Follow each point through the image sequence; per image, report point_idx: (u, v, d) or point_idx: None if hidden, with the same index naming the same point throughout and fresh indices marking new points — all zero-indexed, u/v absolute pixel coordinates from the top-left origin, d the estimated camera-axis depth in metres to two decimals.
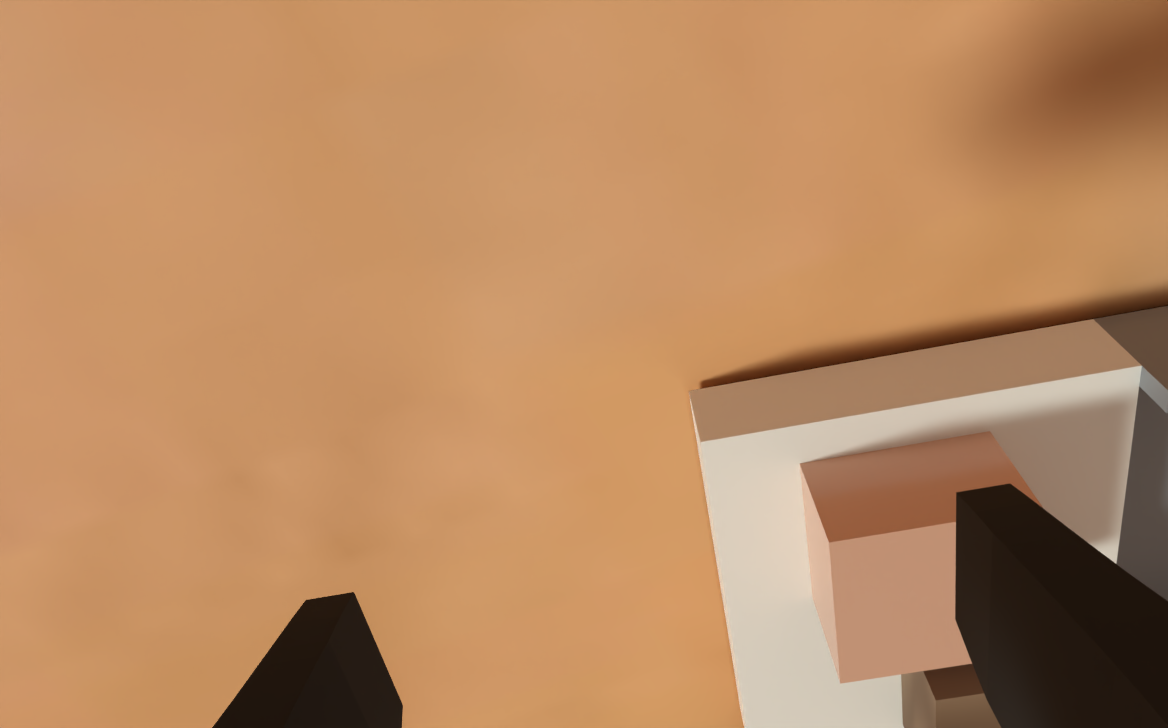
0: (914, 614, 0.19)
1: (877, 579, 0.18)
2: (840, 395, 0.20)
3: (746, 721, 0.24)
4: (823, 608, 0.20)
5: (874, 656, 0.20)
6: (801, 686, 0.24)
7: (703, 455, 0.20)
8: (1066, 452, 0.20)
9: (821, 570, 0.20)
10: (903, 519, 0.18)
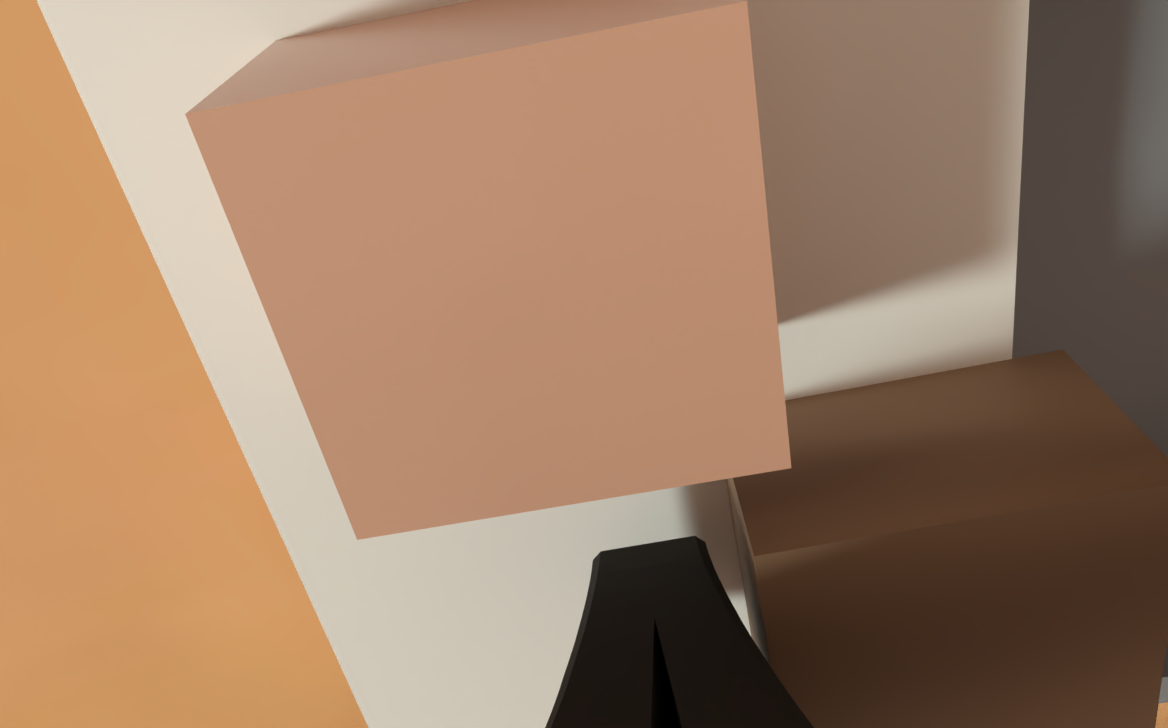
0: (480, 349, 0.08)
1: (356, 242, 0.07)
2: None
3: (340, 660, 0.13)
4: None
5: (415, 468, 0.08)
6: (425, 590, 0.12)
7: (44, 12, 0.09)
8: (883, 20, 0.09)
9: None
10: (395, 62, 0.07)
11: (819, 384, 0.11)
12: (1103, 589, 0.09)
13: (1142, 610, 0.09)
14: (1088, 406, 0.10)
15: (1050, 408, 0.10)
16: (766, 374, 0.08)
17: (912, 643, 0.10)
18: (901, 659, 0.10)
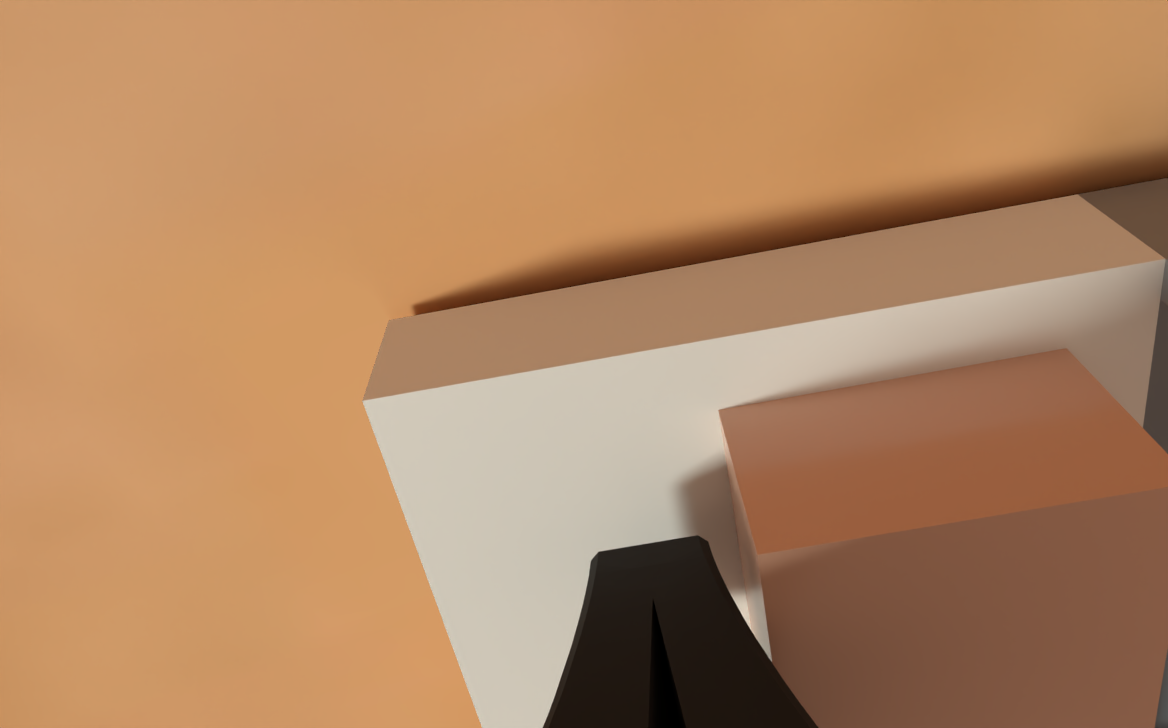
0: (930, 690, 0.10)
1: (857, 627, 0.09)
2: (625, 320, 0.11)
3: None
4: None
5: None
6: None
7: (373, 425, 0.11)
8: None
9: (756, 605, 0.11)
10: (908, 508, 0.09)
11: None
12: None
13: None
14: None
15: None
16: (1145, 703, 0.10)
17: None
18: None
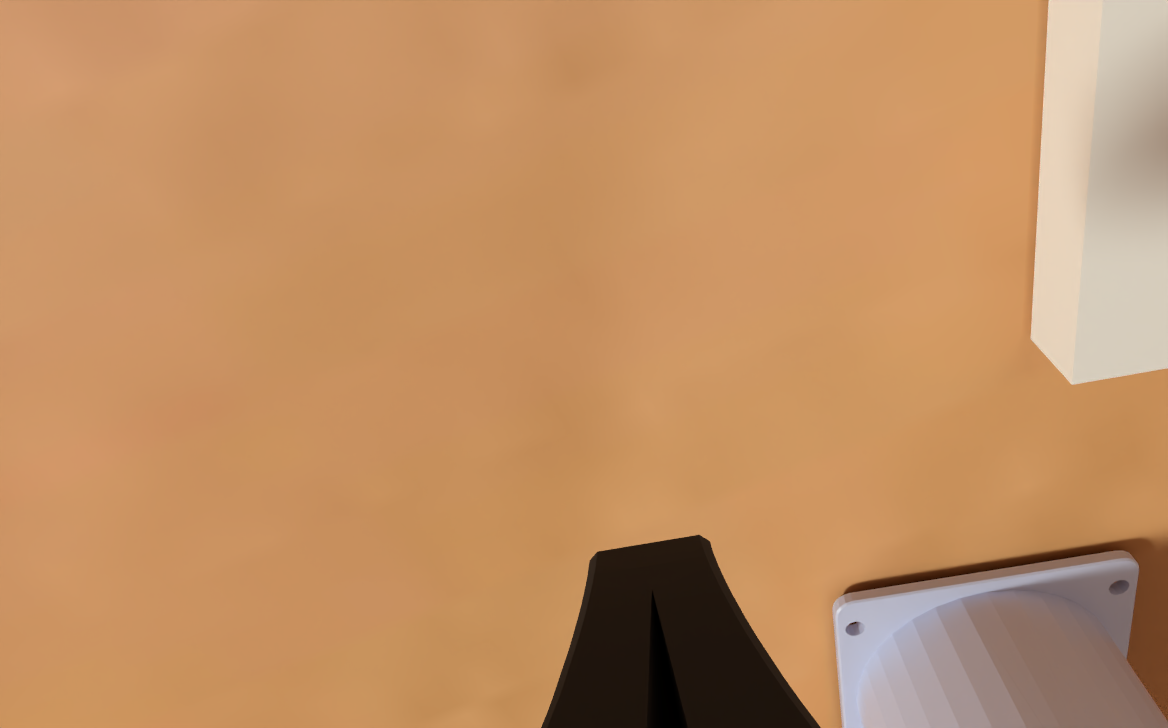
0: None
1: None
2: None
3: (1079, 301, 0.19)
4: None
5: None
6: (1161, 240, 0.18)
7: None
8: None
9: None
10: None
11: None
12: None
13: None
14: None
15: None
16: None
17: None
18: None
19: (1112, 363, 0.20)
